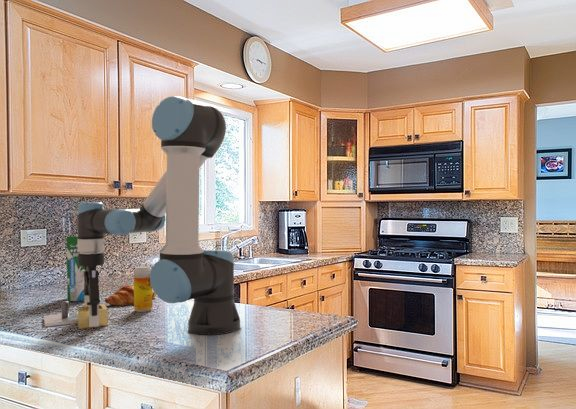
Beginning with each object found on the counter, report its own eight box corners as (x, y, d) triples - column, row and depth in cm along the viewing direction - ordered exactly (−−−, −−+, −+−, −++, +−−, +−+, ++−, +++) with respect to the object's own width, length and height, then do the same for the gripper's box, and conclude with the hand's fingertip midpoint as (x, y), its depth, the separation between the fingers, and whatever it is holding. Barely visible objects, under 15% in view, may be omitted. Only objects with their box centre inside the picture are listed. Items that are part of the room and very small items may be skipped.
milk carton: (94, 296, 193) (93, 234, 193) (93, 300, 185) (92, 235, 185) (70, 297, 191) (69, 235, 191) (67, 302, 182) (66, 236, 182)
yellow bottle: (147, 312, 162) (146, 268, 162) (130, 312, 164) (130, 268, 164) (155, 308, 168) (155, 266, 168) (139, 308, 170) (139, 265, 170)
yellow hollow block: (107, 325, 146) (107, 308, 146) (79, 328, 142) (79, 312, 142) (104, 319, 153) (104, 304, 153) (77, 323, 149) (76, 307, 149)
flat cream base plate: (87, 321, 150) (87, 302, 150) (44, 326, 145) (44, 307, 145) (84, 314, 161) (83, 296, 161) (44, 318, 155) (43, 300, 155)
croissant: (151, 305, 190) (146, 287, 193) (165, 296, 185) (159, 277, 187) (101, 314, 174) (96, 294, 176) (115, 304, 168) (109, 283, 171)
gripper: (109, 256, 138) (110, 329, 138) (99, 247, 160) (99, 310, 160) (81, 257, 134) (81, 332, 135) (74, 248, 156) (75, 313, 157)
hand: (91, 321), depth 148 cm, fingers open, 13 cm apart
